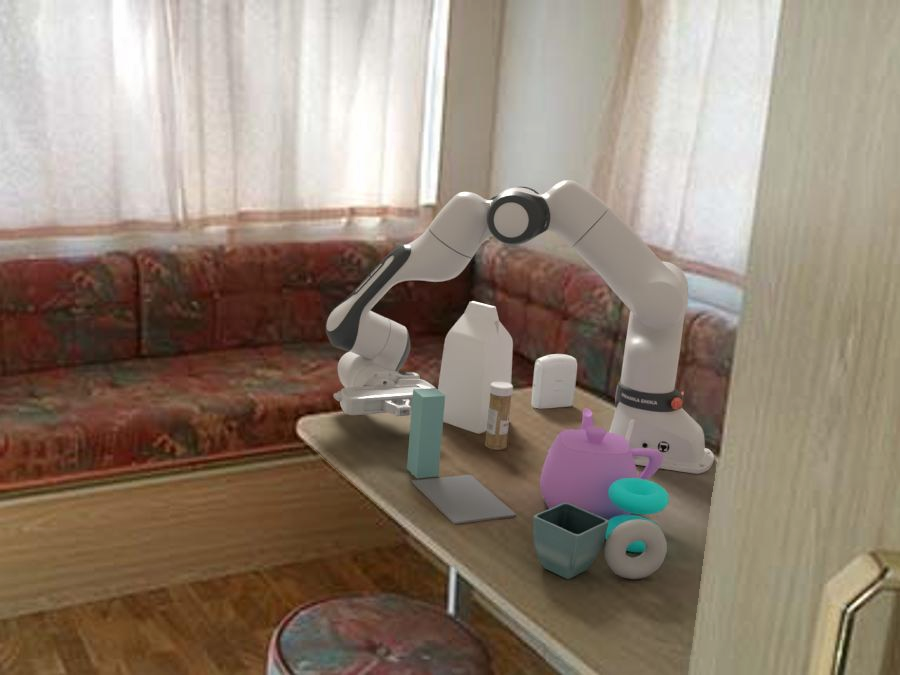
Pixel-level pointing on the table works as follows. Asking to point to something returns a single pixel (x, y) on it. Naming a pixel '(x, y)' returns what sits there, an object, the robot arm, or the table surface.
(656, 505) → the donuts
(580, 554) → the flower pot
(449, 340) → the milk
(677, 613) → the table surface
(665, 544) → the donut
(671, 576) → the table surface
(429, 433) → the teal block
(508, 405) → the sprinkles bottle
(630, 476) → the teapot
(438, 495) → the grey mat
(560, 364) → the photo printer
